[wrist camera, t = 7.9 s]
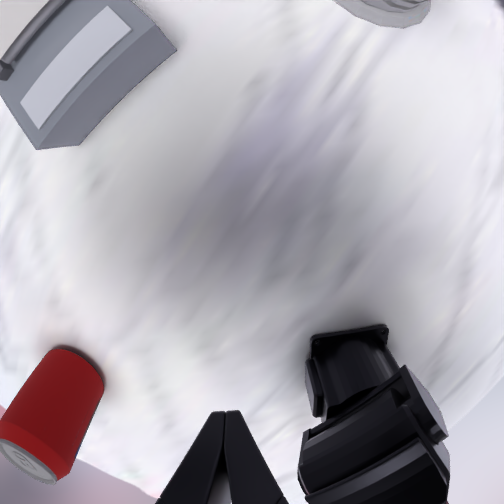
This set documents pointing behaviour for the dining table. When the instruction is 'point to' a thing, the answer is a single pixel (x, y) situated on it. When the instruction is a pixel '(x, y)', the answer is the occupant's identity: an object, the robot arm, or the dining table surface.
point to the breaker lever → (22, 23)
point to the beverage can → (51, 416)
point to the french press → (388, 11)
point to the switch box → (80, 69)
